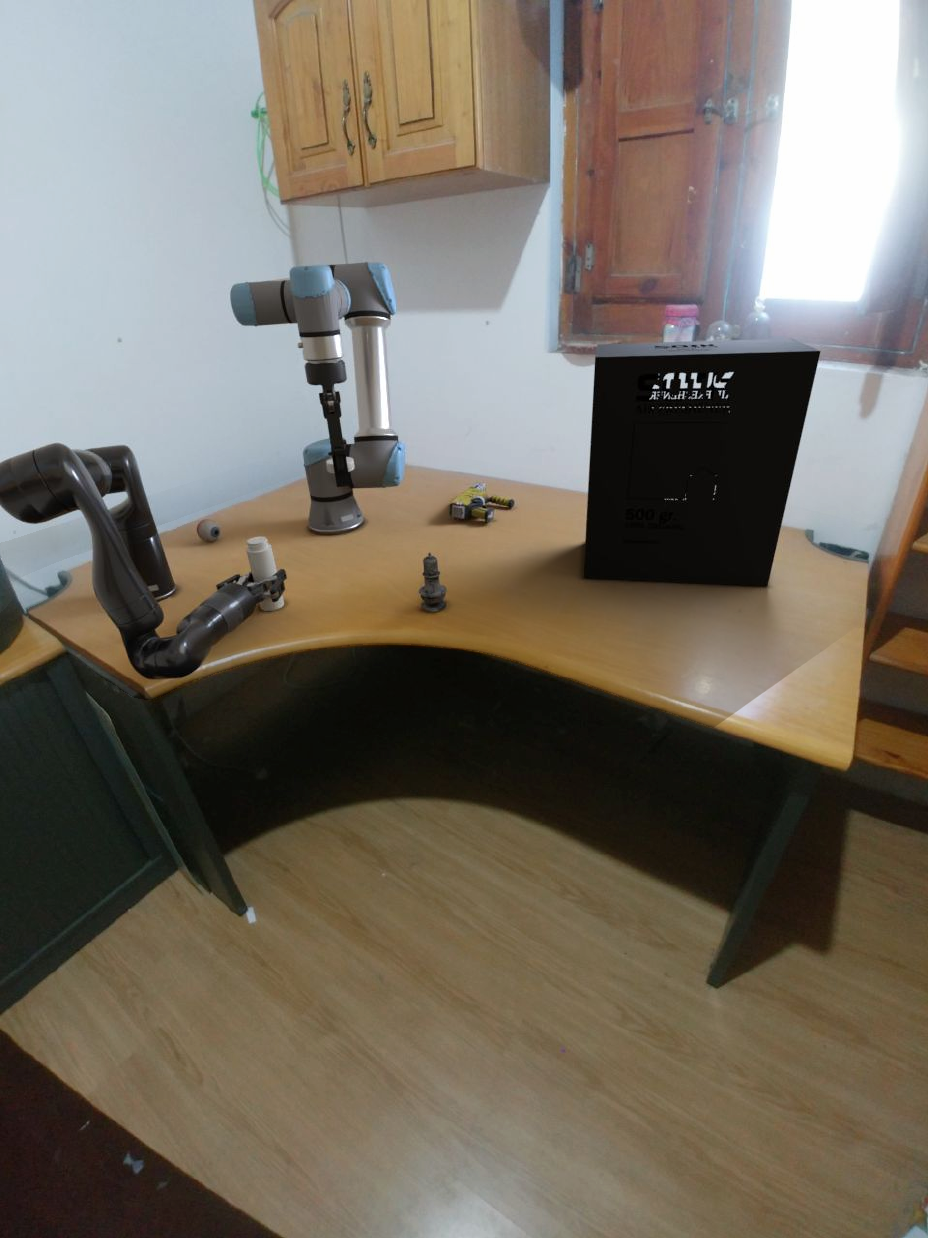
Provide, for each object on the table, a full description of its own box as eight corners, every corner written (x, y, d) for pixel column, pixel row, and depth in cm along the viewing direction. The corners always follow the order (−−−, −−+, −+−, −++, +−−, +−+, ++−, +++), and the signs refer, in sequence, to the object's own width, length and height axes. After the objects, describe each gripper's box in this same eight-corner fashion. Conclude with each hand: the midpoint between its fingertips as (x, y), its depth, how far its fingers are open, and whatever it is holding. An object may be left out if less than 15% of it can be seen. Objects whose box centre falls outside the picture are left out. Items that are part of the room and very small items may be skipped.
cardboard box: (748, 547, 142) (790, 338, 120) (767, 586, 125) (820, 350, 103) (586, 541, 150) (597, 344, 127) (583, 577, 133) (595, 357, 110)
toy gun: (522, 487, 180) (475, 480, 184) (500, 511, 160) (447, 502, 164) (521, 502, 182) (474, 495, 186) (499, 527, 162) (447, 519, 166)
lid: (328, 475, 120) (327, 465, 119) (325, 467, 125) (324, 458, 124) (356, 471, 122) (355, 461, 121) (352, 464, 126) (351, 455, 125)
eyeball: (210, 546, 160) (204, 525, 157) (195, 542, 163) (189, 521, 160) (228, 538, 164) (223, 518, 161) (213, 535, 167) (208, 514, 164)
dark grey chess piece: (444, 613, 122) (440, 559, 116) (416, 611, 123) (411, 558, 117) (450, 599, 127) (447, 547, 121) (424, 598, 128) (419, 546, 122)
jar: (275, 598, 132) (259, 533, 125) (288, 604, 130) (274, 538, 122) (256, 607, 129) (239, 541, 122) (269, 613, 126) (253, 546, 119)
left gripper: (253, 596, 111) (299, 558, 125) (187, 589, 114) (239, 553, 128) (262, 631, 114) (305, 590, 128) (198, 624, 118) (247, 585, 132)
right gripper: (304, 356, 120) (323, 471, 132) (303, 368, 105) (325, 497, 116) (342, 353, 121) (358, 467, 133) (346, 364, 106) (364, 492, 117)
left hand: (272, 572), depth 128 cm, fingers closed on jar, 5 cm apart
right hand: (342, 481), depth 125 cm, fingers closed on lid, 5 cm apart
